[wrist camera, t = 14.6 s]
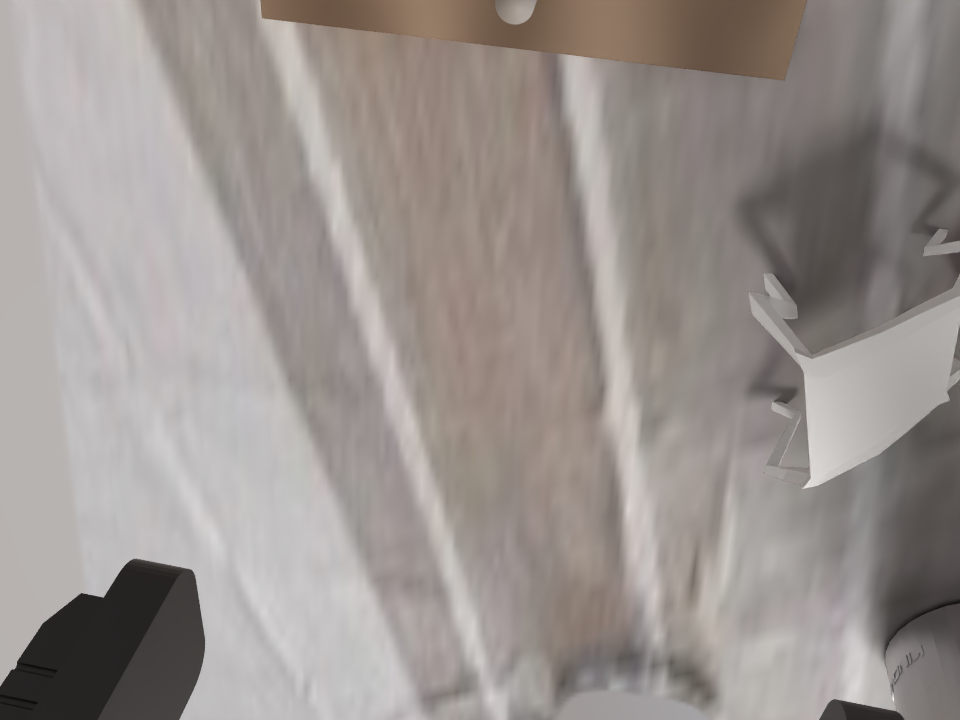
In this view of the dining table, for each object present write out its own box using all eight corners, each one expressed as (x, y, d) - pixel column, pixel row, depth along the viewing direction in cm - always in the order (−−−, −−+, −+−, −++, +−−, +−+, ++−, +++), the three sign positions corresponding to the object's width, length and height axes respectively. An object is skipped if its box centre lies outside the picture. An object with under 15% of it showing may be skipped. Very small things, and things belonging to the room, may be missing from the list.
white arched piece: (759, 191, 34) (773, 259, 30) (992, 213, 33) (1037, 286, 29) (700, 428, 42) (705, 507, 38) (890, 451, 41) (915, 535, 37)
